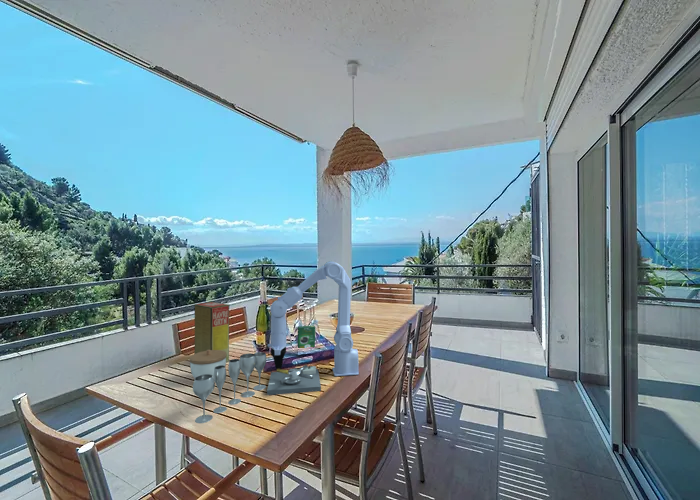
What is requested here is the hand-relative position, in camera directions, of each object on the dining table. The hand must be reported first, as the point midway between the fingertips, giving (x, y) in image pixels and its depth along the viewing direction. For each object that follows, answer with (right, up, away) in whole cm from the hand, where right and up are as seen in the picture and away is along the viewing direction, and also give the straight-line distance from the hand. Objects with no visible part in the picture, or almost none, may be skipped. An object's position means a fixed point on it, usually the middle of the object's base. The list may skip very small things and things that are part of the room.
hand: (278, 368), depth 119 cm
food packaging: (-33, -4, +18) cm, 38 cm away
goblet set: (-10, -4, -19) cm, 22 cm away
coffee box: (+7, -4, +26) cm, 27 cm away
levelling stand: (+7, -4, -5) cm, 9 cm away
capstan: (+7, -2, -8) cm, 11 cm away
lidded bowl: (-26, -4, -1) cm, 26 cm away
